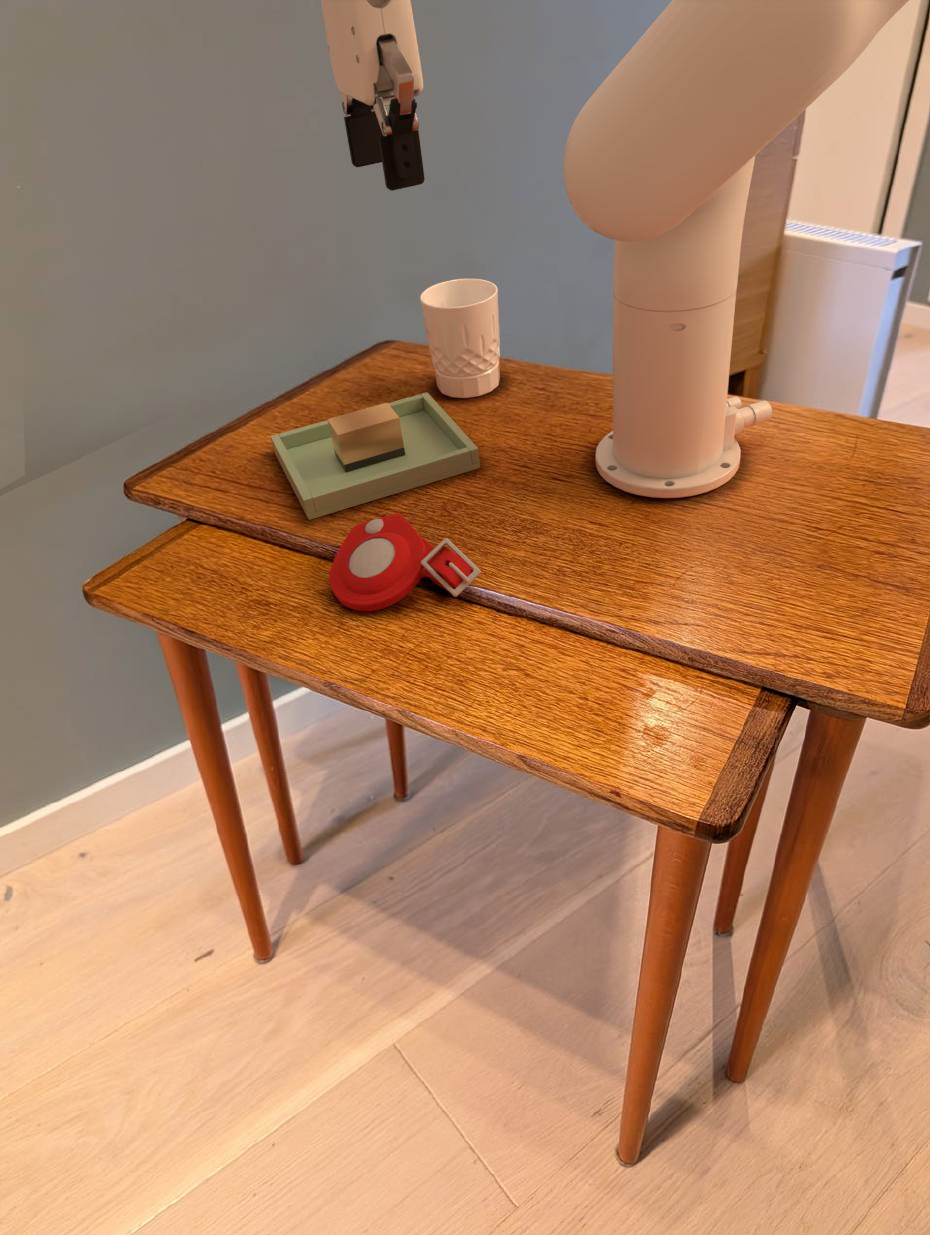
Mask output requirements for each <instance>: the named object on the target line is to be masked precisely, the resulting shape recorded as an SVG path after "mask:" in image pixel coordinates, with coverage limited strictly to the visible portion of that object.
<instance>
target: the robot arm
mask: <svg viewBox="0 0 930 1235" xmlns="http://www.w3.org/2000/svg"><path fill="white" fill-rule="evenodd" d="M909 1H910V0H671V1H670V2H669V4H667V6H666V7H665V8H664V9H663V10H662V12H660V14H659V15H658V16H657V17H656V19H655V20H654V21H653V22H652V23H651V25H649V27H648V28H647V30H646V31H645V32H644V33H643V34H642V35H641V37H640V38H639V39H638V40H637V41H636V43H635V44H634V45H633V46H632V47H631V48H630V49H629V51H628V52H627V53H626V54H625V55H624V56H623V58H622V59H621V60H620V61H619V62H618V64H617V65H616V66H615V67H614V68H613V69H612V71H611V72H610V73H609V74H608V76H607V77H606V78H605V79H604V80H603V82H601V84H600V85H599V86H598V87H597V89H596V90H595V91H594V92H593V94H591V96H589V98H588V100H587V101H586V102H585V103H584V104H583V107H582V108H581V110H580V111H579V112H578V114H577V116H576V118H575V119H574V121H573V124H572V126H571V128H570V131H569V133H568V135H567V140H566V143H565V148H564V154H563V167H562V168H563V180H564V187H565V192H566V195H567V197H568V200H569V203H570V205H571V207H572V209H573V211H574V212H575V214H576V215H577V216H578V218H579V219H580V221H581V222H582V223H583V224H585V226H586V227H588V228H589V229H590V230H591V231H593V232H594V233H596V234H598V235H600V236H602V237H605V238H607V239H610V240H614V242H613V258H612V431H610V432H609V433H607V434H606V435H605V436H603V438H602V439H601V440H600V441H599V442H598V444H597V446H596V448H595V466H596V467H595V468H596V470H597V472H598V474H599V475H600V477H602V479H603V480H604V481H606V482H607V483H608V484H610V485H612V486H613V487H615V488H617V489H619V490H621V491H623V492H625V493H629V494H632V495H636V496H640V497H647V498H653V499H680V498H687V497H694V496H697V495H702V494H705V493H708V492H711V491H713V490H715V489H718V488H719V487H721V486H723V485H724V484H726V483H728V482H729V481H730V480H731V479H732V478H733V477H734V476H736V473H737V472H738V470H739V468H740V463H741V455H742V454H741V452H742V451H741V447H740V445H739V442H738V441H737V439H735V436H737V435H741V433H742V432H743V430H744V429H746V428H749V427H750V428H751V427H754V426H757V425H760V424H764V423H766V422H770V421H771V420H772V418H773V407H772V406H771V404H770V402H768V401H767V400H759V401H756V402H752V403H750V404H747V405H745V406H744V407H743V402H742V400H741V398H740V397H739V396H737V395H735V396H732V397H728V394H729V382H730V369H731V357H732V348H733V347H732V345H733V336H734V335H733V334H734V324H735V323H734V322H735V321H734V320H735V310H736V300H737V289H738V282H739V271H740V262H741V261H740V260H741V249H742V240H743V231H744V226H745V224H744V223H745V216H746V211H747V204H748V200H749V194H750V188H751V183H752V178H753V172H754V166H755V160H756V156H757V155H758V154H759V153H760V152H761V151H762V150H764V148H766V146H768V145H769V144H770V143H771V142H772V141H773V140H774V139H775V138H777V136H778V135H779V134H780V133H782V131H784V130H785V129H786V128H787V127H788V126H789V125H791V123H793V122H794V121H795V120H796V119H797V118H798V117H799V116H800V115H801V114H802V113H803V112H804V111H805V110H807V108H809V107H810V106H811V105H812V104H813V103H814V102H816V100H817V99H818V98H819V97H820V96H821V95H822V94H823V93H825V92H826V91H827V90H828V89H829V88H830V87H831V86H833V83H835V82H836V81H837V80H838V79H839V78H840V77H841V76H842V75H843V74H844V73H845V72H846V71H847V70H848V69H849V68H850V67H851V66H852V65H853V64H854V63H855V62H856V61H857V60H858V58H860V56H861V55H862V54H863V52H864V51H865V50H866V49H867V47H868V46H869V45H870V44H871V43H872V41H873V40H874V38H875V37H876V36H877V35H878V33H879V32H880V31H881V30H882V29H883V28H884V27H885V25H886V24H887V23H888V22H889V21H890V20H891V19H892V18H893V17H894V16H895V15H896V14H897V13H898V12H899V11H900V10H901V9H902V8H903V7H904V6H905V5H906V4H907V3H908V2H909ZM320 5H321V12H322V17H323V18H322V19H323V25H324V31H325V37H326V38H325V39H326V43H327V49H328V56H329V60H330V63H331V64H330V65H331V69H332V74H333V78H334V83H335V85H336V87H337V89H338V90H339V91H340V92H341V108H342V112H343V114H344V116H343V120H344V127H345V131H346V138H347V143H348V149H349V150H348V151H349V155H350V161H351V164H352V166H353V167H355V168H362V167H366V166H371V165H376V164H380V163H382V164H381V165H382V171H383V178H384V183H385V187H386V189H387V190H389V191H391V192H392V191H396V190H401V189H406V188H410V187H416V186H421V185H422V184H424V182H425V179H426V178H425V170H424V162H423V155H422V148H421V138H420V130H419V128H420V125H419V124H420V123H419V119H418V115H417V113H416V111H417V108H418V102H416V99H415V98H414V97H419V96H420V95H421V93H423V92H422V91H423V90H424V79H423V77H424V76H423V71H422V65H421V64H422V63H421V57H420V51H419V45H418V39H417V33H416V32H417V31H416V27H415V20H414V14H413V9H412V3H411V0H320ZM387 106H389V108H388V110H387V108H386V107H387Z"/></svg>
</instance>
